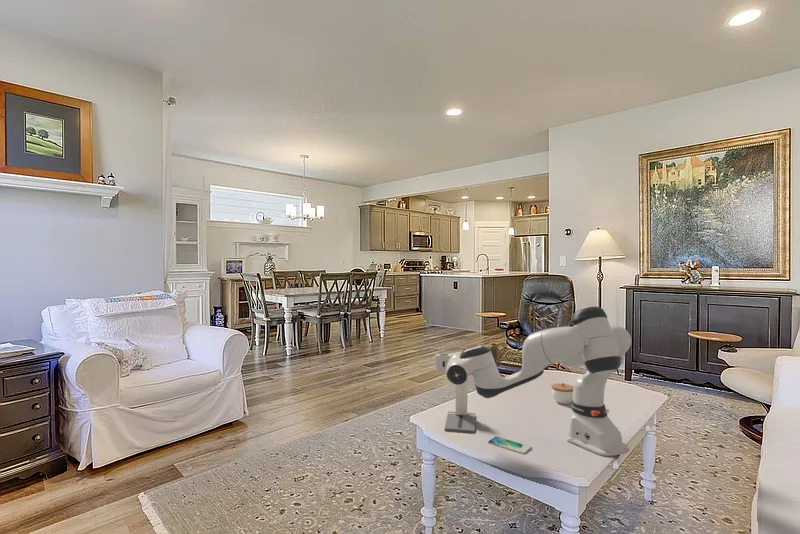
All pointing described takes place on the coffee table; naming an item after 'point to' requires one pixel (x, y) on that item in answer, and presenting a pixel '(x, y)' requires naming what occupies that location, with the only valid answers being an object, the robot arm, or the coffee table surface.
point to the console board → (460, 422)
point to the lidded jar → (562, 393)
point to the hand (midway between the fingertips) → (461, 356)
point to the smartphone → (510, 445)
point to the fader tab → (461, 398)
